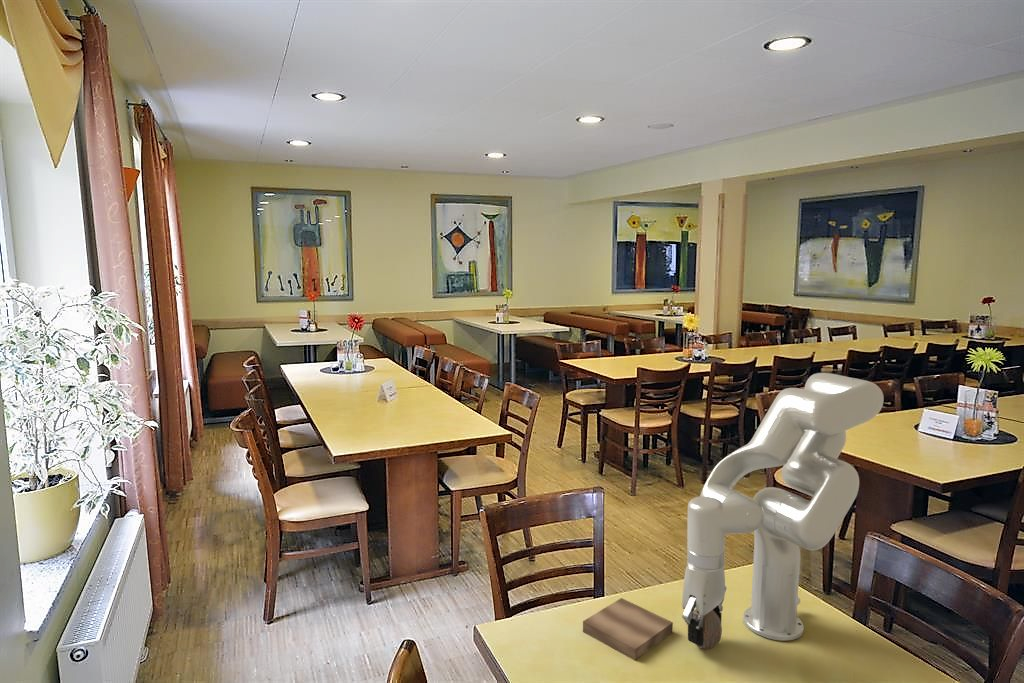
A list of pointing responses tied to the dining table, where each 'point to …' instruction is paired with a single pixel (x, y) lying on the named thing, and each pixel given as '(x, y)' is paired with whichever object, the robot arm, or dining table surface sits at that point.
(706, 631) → the vase
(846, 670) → the dining table surface
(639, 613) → the plinth
